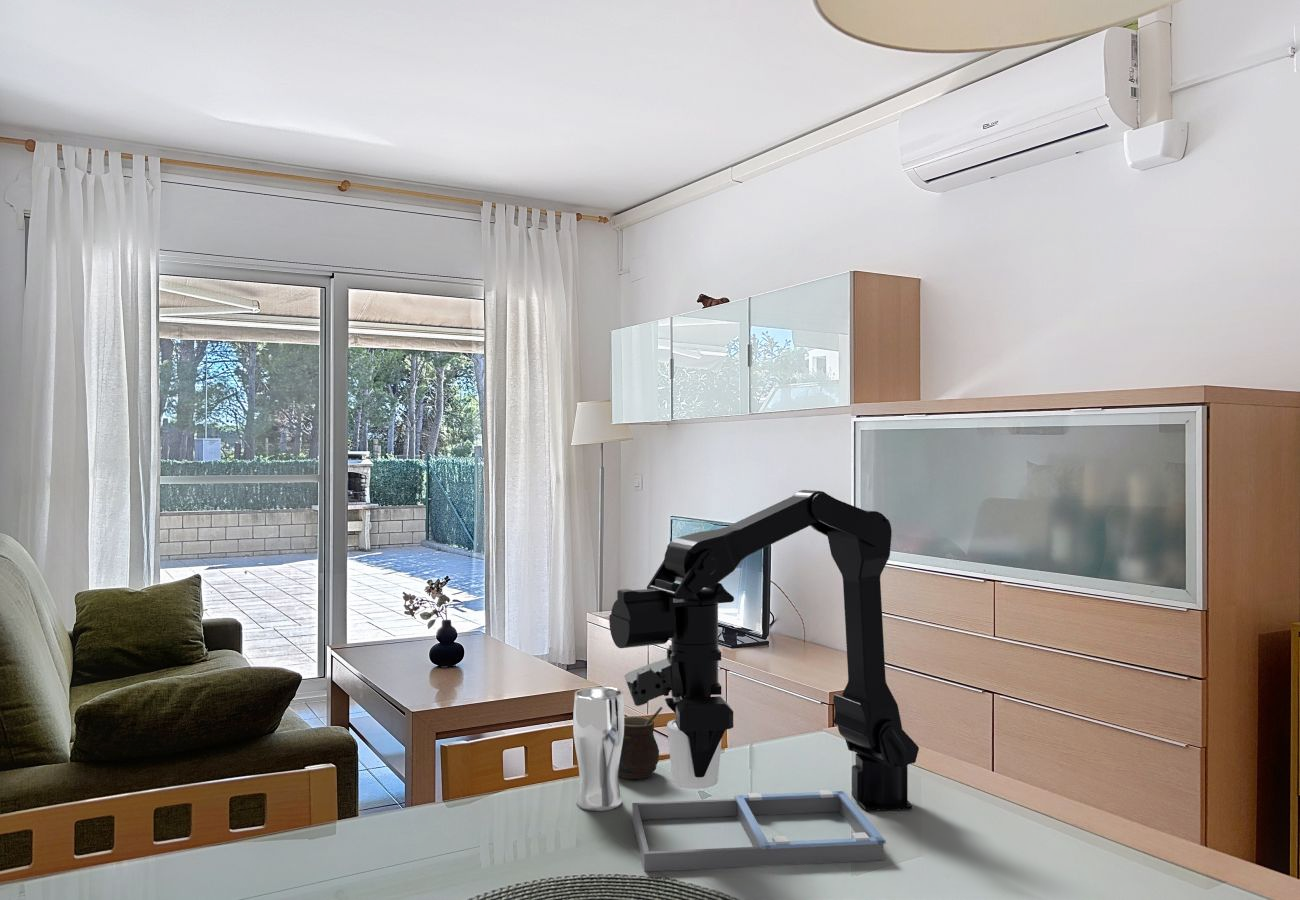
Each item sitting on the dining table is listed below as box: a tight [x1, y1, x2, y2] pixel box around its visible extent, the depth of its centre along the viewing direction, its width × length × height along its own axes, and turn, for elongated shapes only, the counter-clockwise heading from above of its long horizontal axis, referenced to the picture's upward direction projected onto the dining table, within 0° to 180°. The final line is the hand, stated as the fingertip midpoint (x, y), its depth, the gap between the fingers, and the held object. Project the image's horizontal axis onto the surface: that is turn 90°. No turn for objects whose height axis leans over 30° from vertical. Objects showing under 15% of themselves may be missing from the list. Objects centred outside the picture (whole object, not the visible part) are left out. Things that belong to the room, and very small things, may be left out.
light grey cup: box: [666, 718, 723, 790], centre depth 120 cm, size 7×7×7 cm
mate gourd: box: [618, 706, 663, 780], centre depth 144 cm, size 7×8×10 cm
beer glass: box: [572, 686, 625, 812], centre depth 133 cm, size 7×7×15 cm
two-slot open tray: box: [631, 789, 887, 872], centre depth 121 cm, size 28×16×3 cm, turn 96°
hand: (695, 767), depth 120 cm, fingers closed on light grey cup, 6 cm apart
